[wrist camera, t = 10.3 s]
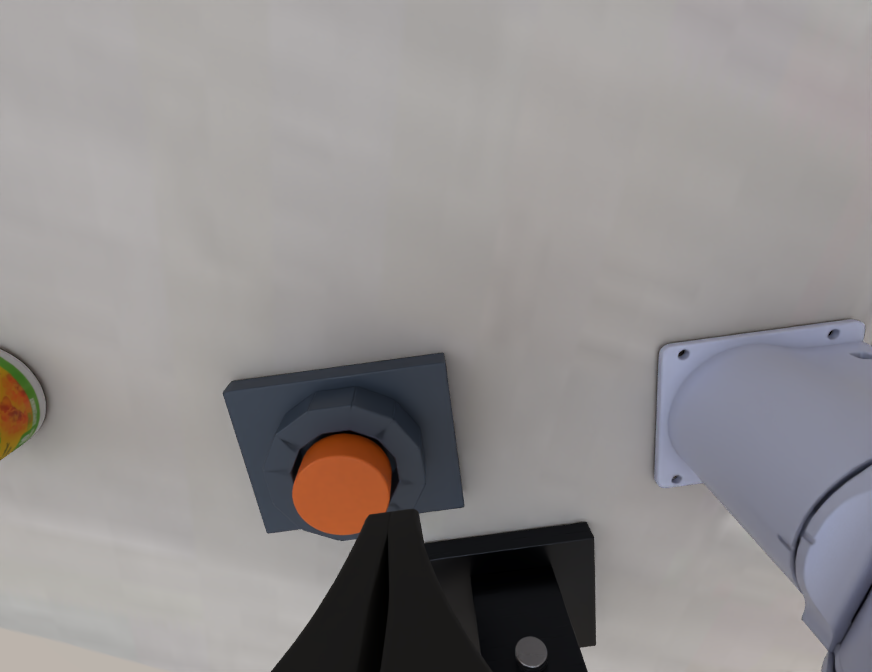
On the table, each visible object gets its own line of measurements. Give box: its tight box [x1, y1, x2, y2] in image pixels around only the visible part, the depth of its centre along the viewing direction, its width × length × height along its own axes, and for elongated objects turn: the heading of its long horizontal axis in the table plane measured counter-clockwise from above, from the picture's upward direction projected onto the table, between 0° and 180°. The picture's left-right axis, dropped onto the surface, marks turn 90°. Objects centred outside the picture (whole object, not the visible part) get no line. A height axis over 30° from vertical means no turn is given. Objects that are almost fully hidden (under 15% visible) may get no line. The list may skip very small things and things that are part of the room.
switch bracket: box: [424, 522, 596, 672], centre depth 24 cm, size 9×8×8 cm
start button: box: [292, 433, 392, 535], centre depth 21 cm, size 4×4×2 cm
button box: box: [223, 353, 464, 541], centre depth 22 cm, size 10×8×3 cm
